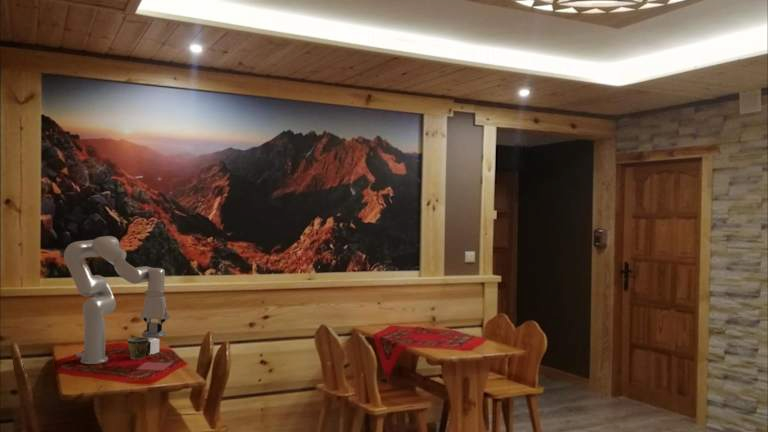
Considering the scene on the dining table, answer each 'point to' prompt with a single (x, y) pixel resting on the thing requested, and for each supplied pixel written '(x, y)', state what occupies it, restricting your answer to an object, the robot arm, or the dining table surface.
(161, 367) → the mat
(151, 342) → the medicine bottle
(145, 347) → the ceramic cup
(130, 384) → the dining table surface
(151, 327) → the lid
